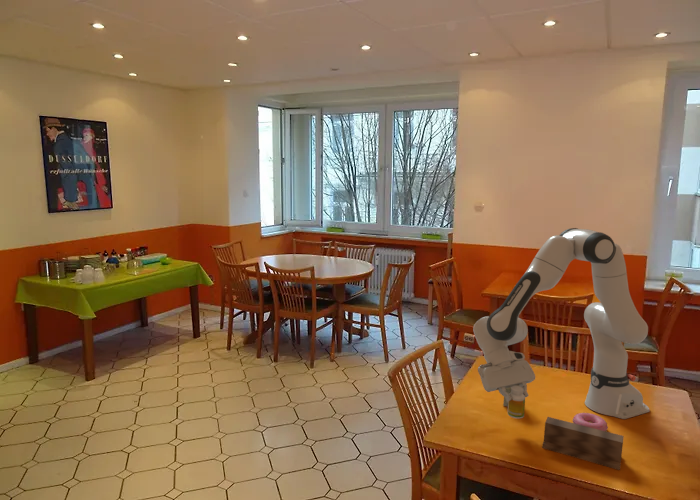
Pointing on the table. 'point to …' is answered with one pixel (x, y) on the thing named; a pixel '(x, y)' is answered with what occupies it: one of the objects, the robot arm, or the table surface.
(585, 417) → the doughnut
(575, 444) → the beam
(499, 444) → the table surface
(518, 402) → the supplement bottle
